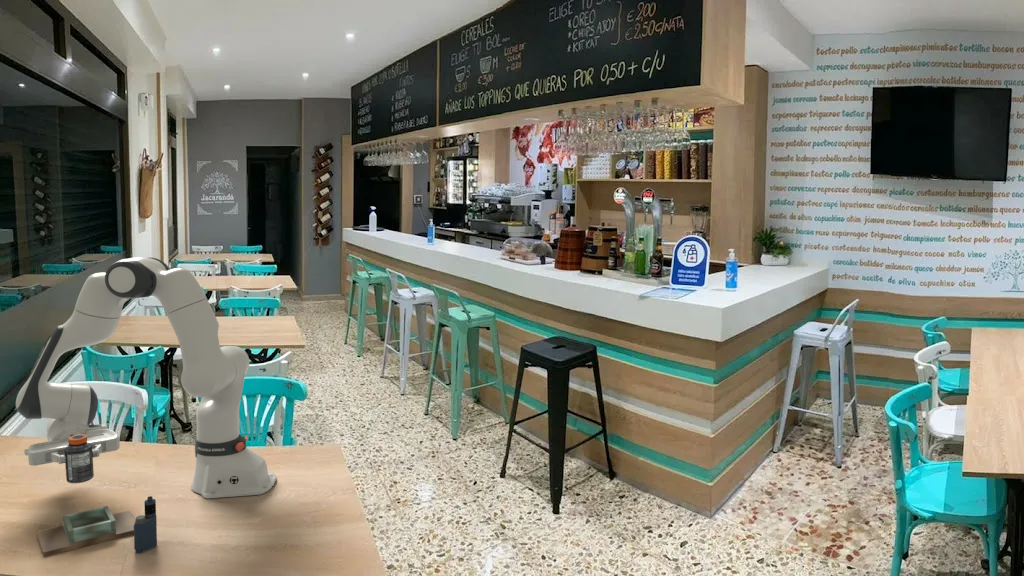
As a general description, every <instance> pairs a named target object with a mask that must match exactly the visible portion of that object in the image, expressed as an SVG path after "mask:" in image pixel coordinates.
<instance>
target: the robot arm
mask: <svg viewBox="0 0 1024 576" xmlns="http://www.w3.org/2000/svg"><path fill="white" fill-rule="evenodd" d="M149 297H154V298H155V299H157V300H158V301H159V303H160V304H161V305H162V307H163V310H164V311H165V314H166V316H167V318H168V320H169V322H170V324H171V327H172V329H173V331H174V334H175V335H176V338H177V341H178V344H179V348H180V352H181V360H182V372H181V376H180V382H181V385H182V387H183V389H184V391H185V392H186V393H187V394H189V395H190V396H192V397H195V398H201V399H200V402H199V404H198V407H197V409H196V437H195V440H194V441H195V442H194V454H195V458H196V460H195V461H196V462H195V469H194V475H193V479H192V483H191V486H190V487H191V490H192V491H193V492H194V493H197V494H199V495H201V496H202V497H203V498H204V499H216V498H217V499H218V498H232V497H245V496H246V497H247V496H256V495H257V496H258V495H263V494H265V493H267V492H269V491H270V490H271V489H272V488H273V487H272V486H274V485H275V484H274V483H276V482H277V476H276V474H275V473H274V472H272V471H269V470H268V464H267V462H266V459H265V458H264V457H263V456H261V455H259V454H257V453H256V452H254V451H253V450H251V449H250V448H248V447H247V441H248V435H246V436H242V435H241V434H240V405H241V400H242V394H243V389H244V382H245V378H246V374H247V372H248V370H249V367H250V358H249V355H248V353H247V352H246V350H244V349H243V348H242V347H239V346H235V345H224V346H221V345H220V340H219V328H220V325H219V321H218V319H217V317H216V315H215V312H214V310H213V308H212V307H211V304H210V301H209V300H208V298H207V296H206V293H205V292H204V290H203V288H202V287H201V285H200V284H199V281H197V279H196V277H195V276H194V275H193V273H192V272H191V271H190V270H189V269H187V268H184V267H183V268H182V267H175V268H170V267H169V266H168V265H167V263H165V262H164V261H163V260H162V259H159V258H156V257H142V256H135V257H129V258H122V259H119V260H117V261H115V262H113V263H112V264H111V265H110V266H109V267H108V268H107V269H106V272H103V271H102V272H95V273H93V274H90V275H89V276H88V277H87V278H86V279H85V282H84V284H83V285H82V287H81V289H80V292H79V294H78V297H77V299H76V303H75V305H74V308H73V312H72V314H71V315H70V317H69V318H68V319H67V321H65V322H64V323H63V324H60V325H57V326H56V327H55V328H54V329H53V330H52V331H51V333H50V334H49V336H48V338H47V339H46V342H45V343H44V345H43V347H42V349H41V351H40V353H39V355H38V357H37V359H36V361H35V363H34V365H33V367H32V369H31V371H30V373H29V375H28V377H27V379H26V380H25V382H24V384H23V385H22V387H21V388H20V390H19V391H18V394H17V396H16V400H15V410H16V411H17V412H18V413H19V415H20V416H22V417H23V418H25V419H26V420H40V419H48V421H47V423H46V426H45V437H46V440H47V441H43V442H38V443H33V444H31V445H29V447H28V448H27V449H24V451H23V453H24V455H25V456H26V457H28V458H27V460H28V465H29V466H31V467H36V466H40V465H46V464H51V463H58V465H61V464H62V465H63V464H65V463H66V460H65V459H66V457H65V448H66V446H68V445H69V443H68V442H69V441H68V439H69V437H71V436H74V435H80V434H83V435H86V436H87V442H89V443H90V444H91V445H92V455H93V459H94V458H98V457H100V454H104V453H105V454H106V453H110V452H115V451H118V450H119V449H120V444H121V443H120V442H121V441H120V436H119V434H118V433H117V432H115V431H114V430H112V429H110V428H108V425H107V424H105V423H103V424H92V423H93V421H94V420H95V419H96V415H97V411H98V406H99V399H98V395H97V392H96V391H95V389H94V388H93V387H91V385H86V384H78V383H60V382H50V381H49V378H50V376H51V374H52V373H53V370H54V368H55V365H56V363H57V362H58V360H59V359H60V357H61V356H62V355H63V354H65V353H67V352H69V351H72V350H74V349H78V348H79V349H80V348H84V347H85V348H86V347H91V346H93V345H94V346H95V345H98V344H101V343H103V342H106V340H108V339H110V338H111V337H112V336H113V335H114V334H115V332H116V330H117V328H118V326H119V323H120V319H121V315H122V311H123V307H124V304H125V303H126V301H127V300H132V299H133V300H134V299H140V298H141V299H142V298H149ZM275 481H276V482H275Z"/></svg>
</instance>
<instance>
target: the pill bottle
mask: <svg viewBox="0 0 1024 576" xmlns="http://www.w3.org/2000/svg"><path fill="white" fill-rule="evenodd" d="M68 441H69V442H68V443H69V445H68V446H66V448H65V457H66V459H65V460H66V463H64V465H65V466H64V467H65V476H66V482H67V483H69V484H81V483H82V484H83V483H86V482H88V481H91V480H92V479H93V478H94V475H95V474H94V458H93V455H92V445H91V444H90V443H89V442H87V436H86V435H83V434H80V435H74V436H71V437H69V439H68Z"/></svg>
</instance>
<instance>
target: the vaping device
mask: <svg viewBox="0 0 1024 576" xmlns="http://www.w3.org/2000/svg"><path fill="white" fill-rule="evenodd" d="M156 501H157V500H156V499H155V498H153V496H152V495H150V496H148V497H147V499H146V500H144V505H143V506H144V514H142V515H141V514H140V515H137V516H136V517H135V519H136V521H135V524H134V534H133V541H134V542H133V546H134V547H133V548H134V551H135V552H136V553H138V554H142V553H145V552H147V551H149V550H152V549H153V548H155V547H156V546H158V534H157V532H158V531H157V525H158V524H157V504H156V503H157V502H156Z"/></svg>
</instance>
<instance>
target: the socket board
mask: <svg viewBox="0 0 1024 576" xmlns="http://www.w3.org/2000/svg"><path fill="white" fill-rule="evenodd" d="M61 517H62V525H59V526H55V527H51V528H47V529H42V530H38V531H36V537H37V541H38V544H39V547H40V550H41V553H42V557H48V556H51V555H55V554H60V553H63V552H66V551H67V552H68V551H71V550H76V549H79V548H84V547H87V546H88V547H89V546H91V545H95V544H99V543H104V542H107V541H113V540H115V539H119V538H120V539H121V538H123V537H127V536H131V535H134V524H135V521H136V517H135V516H134V515H133V513H132V510H130V509H129V510H125V511H121V512H117V513H112V511H111V509H110V508H109V506H108V505H105V506H100V507H95V508H92V509H87V510H83V511H78V512H75V513H69V514H65V515H62V516H61Z"/></svg>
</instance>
